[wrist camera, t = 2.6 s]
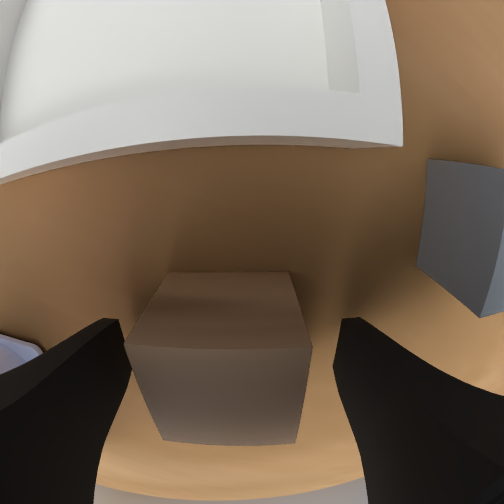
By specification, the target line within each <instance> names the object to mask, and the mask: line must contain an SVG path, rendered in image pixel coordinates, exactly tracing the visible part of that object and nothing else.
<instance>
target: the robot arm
mask: <svg viewBox="0 0 504 504" xmlns="http://www.w3.org/2000/svg"><path fill="white" fill-rule="evenodd" d="M124 342H125V340H124V337H123V333H122V330H121V327H120V323H119V320H118V319H109V318H102V319H100V320H98V321H96V322H94V323H92V324H91V325H89V326H87V327H85V328H84V329H82V330H80V331H79V332H77V333H76V334H74V335H72V336H71V337H69V338H67V339H66V340H64V341H63V342H61V343H59V344H58V345H56V346H54V347H53V348H51V349H49V350H47V351H46V352H44V353H43V352H42V350H41V349H40V348H39V347H38V346H37V345H35V344H32V343H28V342H25V341H21V340H18V339H15V338H11V337H8V336H5V335H2V334H0V504H93V502H94V501H93V500H94V490H95V483H96V477H97V471H98V466H99V462H100V457H101V453H102V449H103V446H104V443H105V440H106V437H107V435H108V432H109V430H110V427H111V425H112V422H113V420H114V418H115V415H116V413H117V411H118V408H119V406H120V404H121V401H122V399H123V396H124V394H125V392H126V389H127V386H128V382H129V379H130V375H131V371H132V367H131V364H130V361H129V359H128V356H127V353H126V350H125V347H124ZM333 370H334V375H335V380H336V384H337V388H338V392H339V395H340V398H341V401H342V404H343V406H344V409H345V412H346V415H347V417H348V420H349V423H350V426H351V428H352V431H353V434H354V437H355V440H356V442H357V445H358V449H359V452H360V456H361V461H362V466H363V471H364V476H365V482H366V489H367V496H368V504H504V396H501V395H498V394H495V393H491V392H489V391H486V390H483V389H480V388H478V387H475V386H472V385H470V384H468V383H465V382H463V381H461V380H459V379H457V378H455V377H453V376H451V375H449V374H447V373H445V372H443V371H441V370H439V369H437V368H435V367H434V366H432V365H430V364H429V363H427V362H426V361H424V360H422V359H421V358H419V357H417V356H416V355H414V354H413V353H411V352H410V351H408V350H407V349H405V348H404V347H402V346H401V345H399V344H398V343H397V342H395V341H394V340H392V339H391V338H389V337H388V336H387V335H385V334H384V333H382V332H381V331H380V330H378V329H377V328H375V327H374V326H373V325H371V324H370V323H368V322H367V321H365V320H364V319H362V318H360V317H356V318H345V319H342V322H341V327H340V333H339V338H338V343H337V348H336V353H335V358H334V363H333Z"/></svg>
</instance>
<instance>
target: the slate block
mask: <svg viewBox="0 0 504 504" xmlns="http://www.w3.org/2000/svg"><path fill="white" fill-rule="evenodd" d="M416 267H418V268H419V269H420V270H422V271H423V272H424V273H426V274H427V275H428V276H429V277H431V278H432V279H433V280H435V281H436V282H437V283H438V284H440V285H441V286H442V287H443V288H445V289H446V290H447V291H448V292H449V293H451V294H452V295H453V296H454V297H455V298H457V299H458V300H459V301H460V302H461V303H463V304H464V305H465V306H466V307H467V308H468V309H470V310H471V311H472V312H473V313H474V314H475V315H476V316H478V317H479V318H482V317H486V316H489V315H493V314H496V313H499V312H503V311H504V169H502V168H496V167H490V166H484V165H477V164H470V163H462V162H454V161H445V160H434V159H427V176H426V192H425V204H424V214H423V222H422V230H421V237H420V244H419V250H418V255H417V261H416Z"/></svg>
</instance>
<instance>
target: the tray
mask: <svg viewBox="0 0 504 504" xmlns="http://www.w3.org/2000/svg"><path fill="white" fill-rule="evenodd" d="M226 145H305V146H324V147H339V148H350V149H357V148H376V147H403V121H402V103H401V90H400V80H399V71H398V63H397V56H396V50H395V44H394V38H393V33H392V28H391V23H390V18H389V14H388V10H387V6H386V2H385V0H0V185H1V184H4V183H7V182H10V181H13V180H17V179H20V178H23V177H27V176H30V175H34V174H37V173H41V172H45V171H49V170H53V169H57V168H61V167H65V166H70V165H74V164H79V163H84V162H89V161H94V160H99V159H105V158H110V157H116V156H123V155H129V154H136V153H144V152H152V151H160V150H170V149H180V148H192V147H207V146H226Z"/></svg>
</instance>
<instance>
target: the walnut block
mask: <svg viewBox="0 0 504 504" xmlns="http://www.w3.org/2000/svg"><path fill="white" fill-rule="evenodd" d="M124 347H125V350H126V353H127V356H128V359H129V361H130V364H131V367H132V370H133V372H134V375H135V378H136V380H137V383H138V385H139V388H140V390H141V393H142V395H143V397H144V400H145V402H146V405H147V407H148V409H149V411H150V414H151V416H152V418H153V420H154V422H155V424H156V426H157V428H158V431H159V433H160V435H161V437H162V439H163V440H166V441H174V442H182V443H192V444H205V445H224V446H263V445H282V444H295V442H296V438H297V433H298V428H299V423H300V418H301V413H302V408H303V403H304V397H305V392H306V386H307V380H308V374H309V367H310V361H311V354H312V347H313V346H312V343H311V340H310V337H309V333H308V330H307V327H306V324H305V321H304V318H303V315H302V311H301V308H300V305H299V302H298V299H297V296H296V293H295V290H294V287H293V284H292V281H291V278H290V275H289V272H288V271H266V272H198V273H167V275H166V276H165V278H164V279H163V281H162V283H161V284H160V286H159V287H158V289H157V290H156V292H155V293H154V295H153V296H152V298H151V300H150V301H149V303H148V304H147V306H146V307H145V309H144V311H143V312H142V314H141V315H140V317H139V319H138V320H137V322H136V324H135V325H134V327H133V329H132V330H131V332H130V333H129V335H128V337H127V338H126V340H125V342H124Z"/></svg>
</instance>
